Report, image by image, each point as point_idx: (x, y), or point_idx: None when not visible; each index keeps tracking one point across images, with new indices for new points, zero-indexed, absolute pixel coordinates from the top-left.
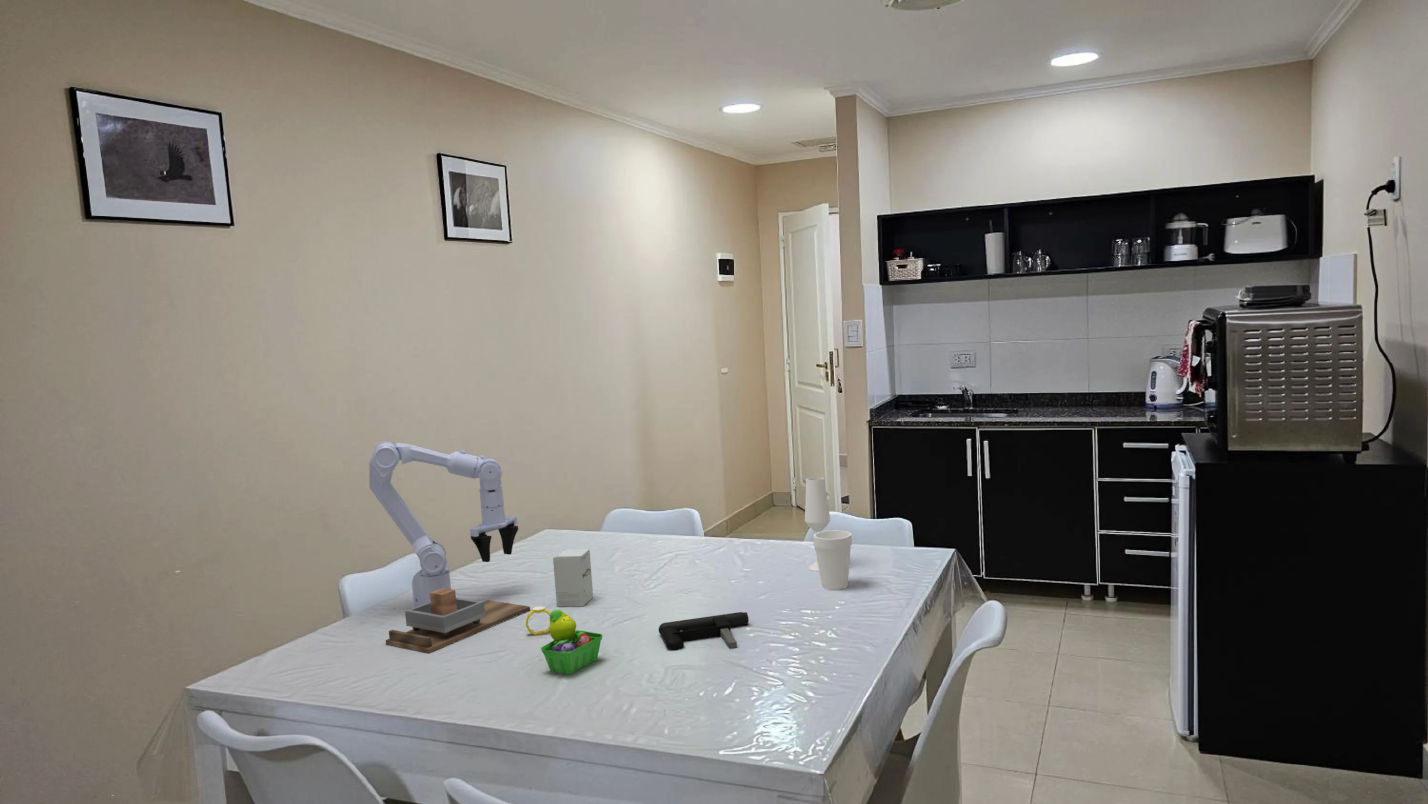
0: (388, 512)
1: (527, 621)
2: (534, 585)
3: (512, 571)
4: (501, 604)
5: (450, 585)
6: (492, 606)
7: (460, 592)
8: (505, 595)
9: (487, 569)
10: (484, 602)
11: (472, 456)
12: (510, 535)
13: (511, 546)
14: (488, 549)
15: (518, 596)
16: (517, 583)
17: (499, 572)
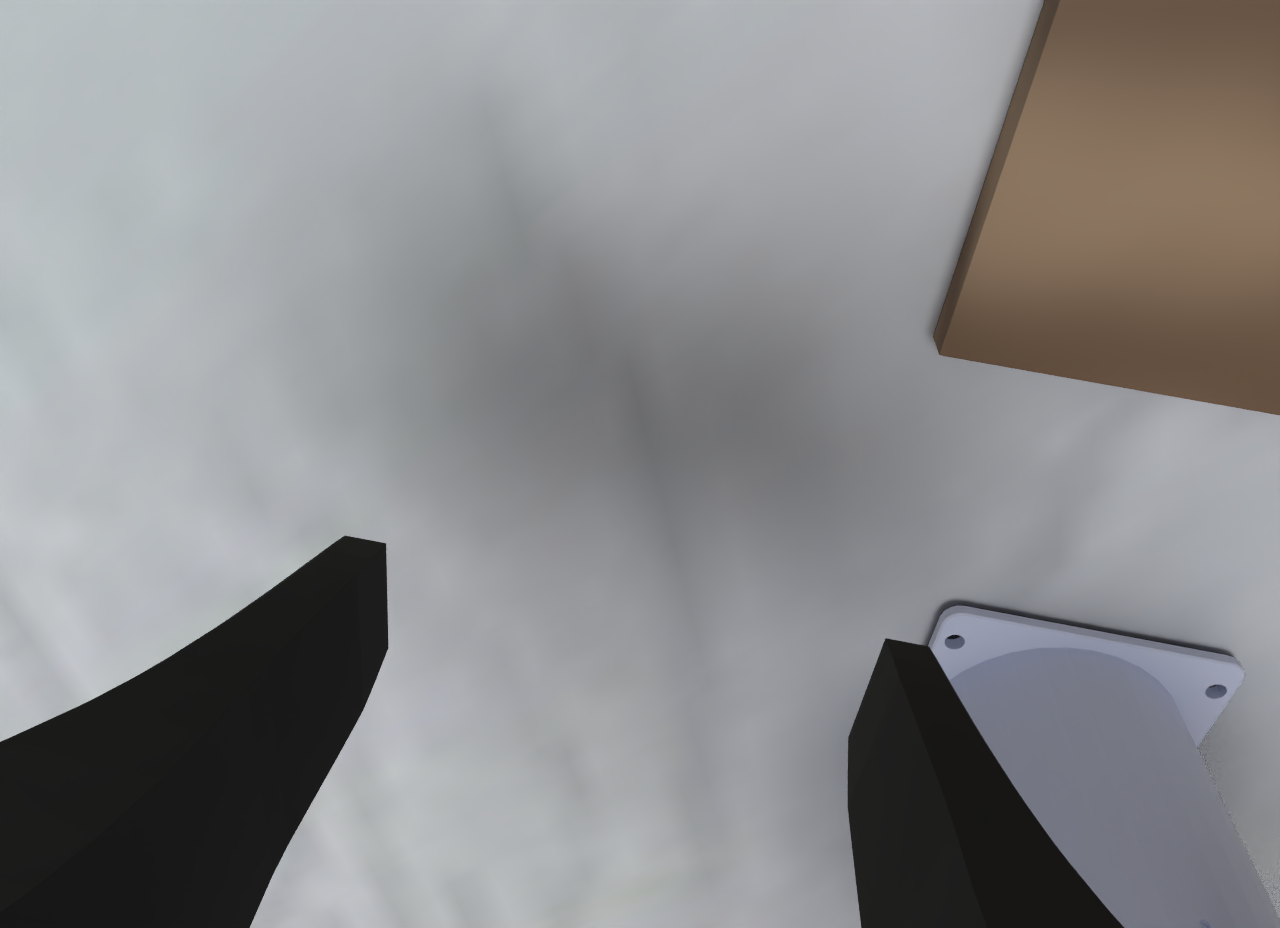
0: None
1: None
2: (230, 214)
3: (44, 652)
4: (1121, 61)
5: (1035, 791)
6: (1211, 134)
7: (648, 742)
8: (626, 324)
9: None
10: (1033, 339)
11: None
12: (157, 813)
13: (286, 609)
14: (990, 824)
15: (622, 146)
16: (262, 433)
17: None
